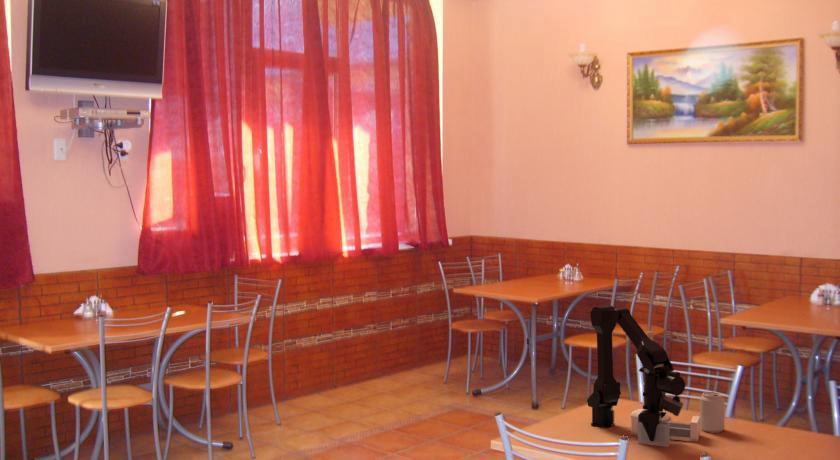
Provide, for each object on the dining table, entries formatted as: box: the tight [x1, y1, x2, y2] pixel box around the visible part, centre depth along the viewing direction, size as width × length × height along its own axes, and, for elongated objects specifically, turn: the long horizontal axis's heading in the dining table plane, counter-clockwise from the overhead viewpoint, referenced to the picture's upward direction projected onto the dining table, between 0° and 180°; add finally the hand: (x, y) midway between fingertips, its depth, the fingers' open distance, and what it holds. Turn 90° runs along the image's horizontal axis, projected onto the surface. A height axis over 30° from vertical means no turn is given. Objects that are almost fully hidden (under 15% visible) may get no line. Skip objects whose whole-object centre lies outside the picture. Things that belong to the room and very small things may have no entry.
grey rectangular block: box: [637, 420, 671, 448], centre depth 256 cm, size 9×3×7 cm, turn 65°
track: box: [630, 409, 701, 443], centre depth 264 cm, size 20×8×6 cm, turn 65°
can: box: [699, 391, 726, 434], centre depth 269 cm, size 8×8×12 cm
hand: (653, 438), depth 256 cm, fingers open, 5 cm apart
